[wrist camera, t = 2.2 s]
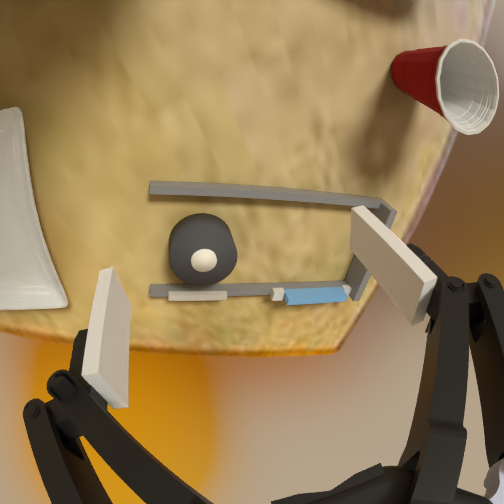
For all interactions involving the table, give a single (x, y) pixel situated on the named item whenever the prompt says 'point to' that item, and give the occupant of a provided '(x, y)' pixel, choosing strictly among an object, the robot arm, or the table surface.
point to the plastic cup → (451, 82)
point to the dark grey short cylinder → (202, 250)
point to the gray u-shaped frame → (289, 291)
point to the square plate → (22, 228)
